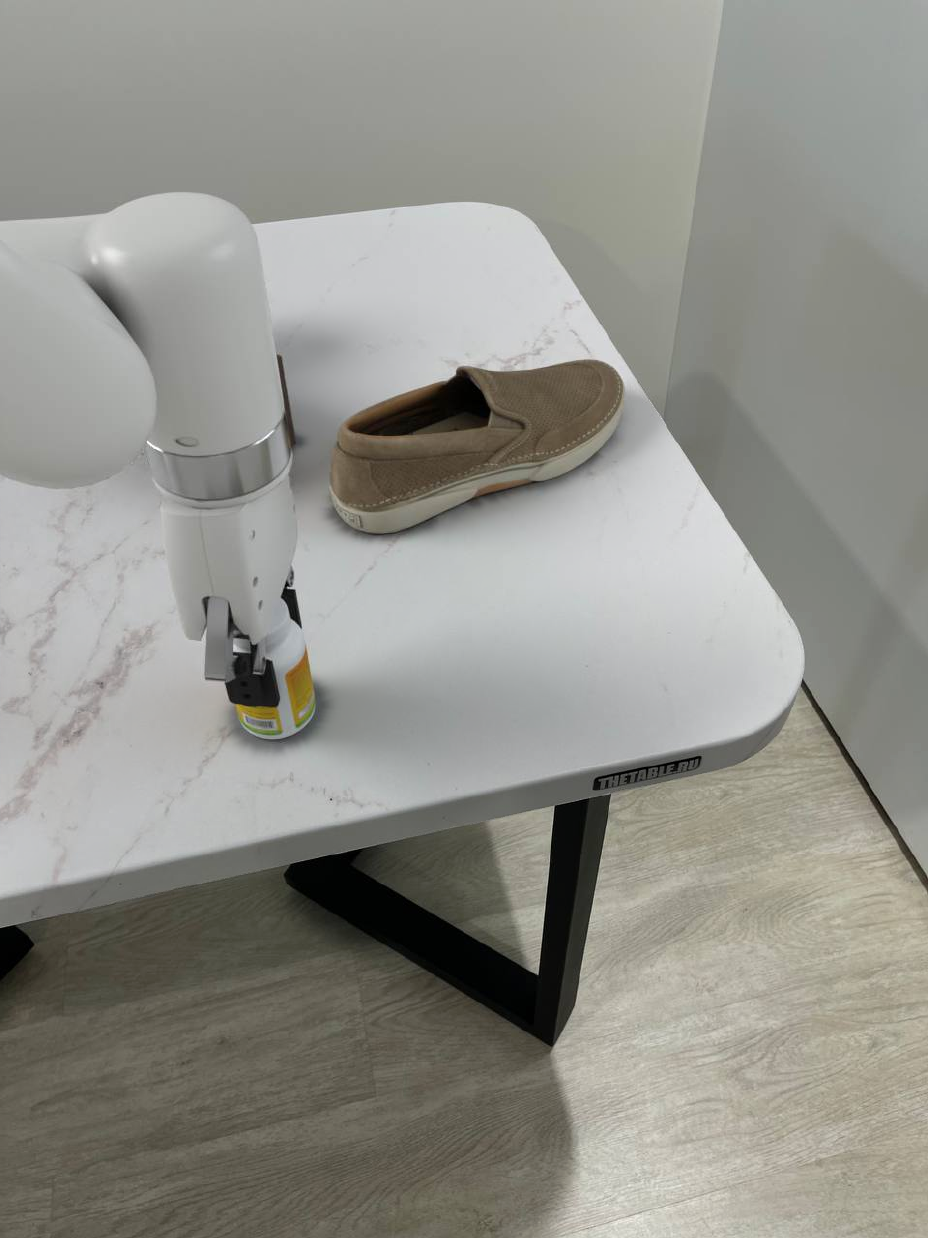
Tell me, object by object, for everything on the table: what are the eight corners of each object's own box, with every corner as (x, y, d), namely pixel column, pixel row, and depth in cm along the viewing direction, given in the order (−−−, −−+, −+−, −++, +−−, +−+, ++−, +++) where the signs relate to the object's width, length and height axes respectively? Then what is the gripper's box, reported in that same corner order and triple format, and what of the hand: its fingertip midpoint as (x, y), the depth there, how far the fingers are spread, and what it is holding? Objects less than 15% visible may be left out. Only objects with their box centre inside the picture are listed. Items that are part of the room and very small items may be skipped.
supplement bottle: (301, 671, 73) (283, 573, 66) (327, 724, 69) (311, 627, 62) (228, 696, 71) (202, 599, 64) (252, 752, 68) (227, 656, 61)
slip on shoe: (585, 378, 98) (592, 293, 91) (658, 438, 91) (671, 351, 85) (306, 480, 88) (292, 393, 81) (365, 556, 81) (355, 467, 74)
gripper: (196, 350, 60) (245, 572, 73) (91, 545, 48) (172, 767, 61) (321, 358, 59) (348, 580, 72) (245, 557, 48) (293, 779, 61)
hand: (267, 664), depth 67 cm, fingers closed on supplement bottle, 5 cm apart
